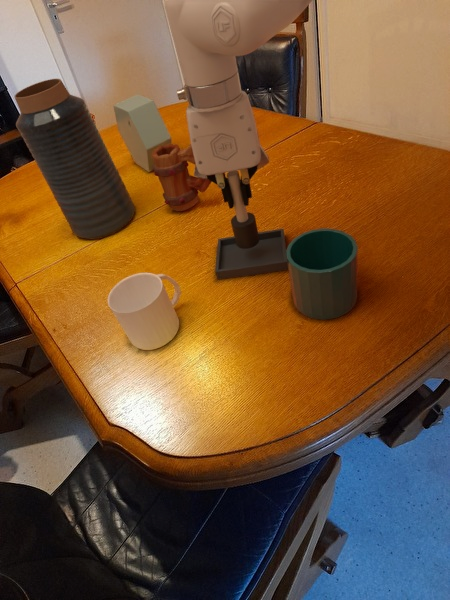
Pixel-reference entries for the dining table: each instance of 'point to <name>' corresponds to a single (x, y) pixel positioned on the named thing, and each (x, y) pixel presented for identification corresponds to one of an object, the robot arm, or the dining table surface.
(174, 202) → the mug
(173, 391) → the dining table surface
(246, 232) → the brush
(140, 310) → the mug
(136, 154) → the pale green angular block
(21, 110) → the vase
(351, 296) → the jar
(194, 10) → the robot arm
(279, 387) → the dining table surface
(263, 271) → the tray
